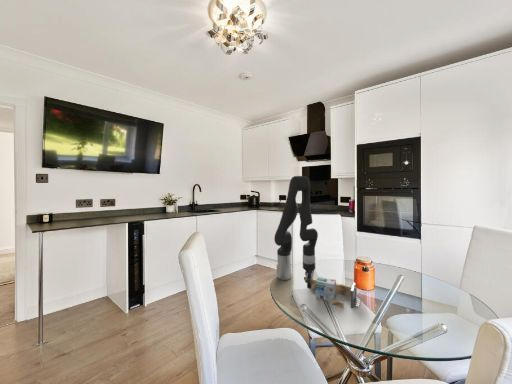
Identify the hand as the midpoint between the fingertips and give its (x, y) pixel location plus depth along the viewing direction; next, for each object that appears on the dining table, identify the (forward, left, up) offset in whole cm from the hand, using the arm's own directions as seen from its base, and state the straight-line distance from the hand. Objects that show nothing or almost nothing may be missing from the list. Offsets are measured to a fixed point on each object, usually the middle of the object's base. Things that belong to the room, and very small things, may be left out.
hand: (309, 287), depth 151 cm
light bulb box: (+10, 0, -4) cm, 11 cm away
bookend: (+27, +1, -4) cm, 27 cm away
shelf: (+12, +1, -4) cm, 13 cm away
